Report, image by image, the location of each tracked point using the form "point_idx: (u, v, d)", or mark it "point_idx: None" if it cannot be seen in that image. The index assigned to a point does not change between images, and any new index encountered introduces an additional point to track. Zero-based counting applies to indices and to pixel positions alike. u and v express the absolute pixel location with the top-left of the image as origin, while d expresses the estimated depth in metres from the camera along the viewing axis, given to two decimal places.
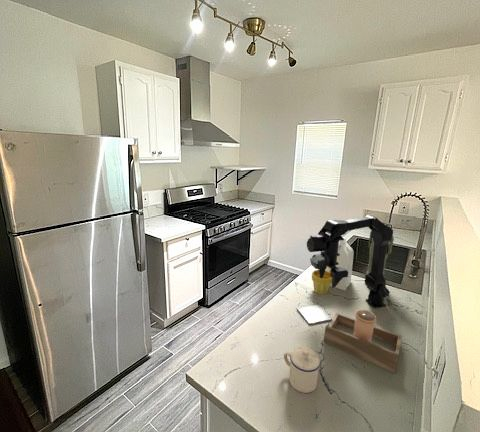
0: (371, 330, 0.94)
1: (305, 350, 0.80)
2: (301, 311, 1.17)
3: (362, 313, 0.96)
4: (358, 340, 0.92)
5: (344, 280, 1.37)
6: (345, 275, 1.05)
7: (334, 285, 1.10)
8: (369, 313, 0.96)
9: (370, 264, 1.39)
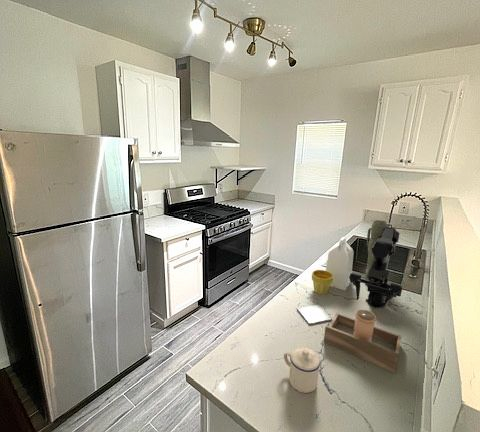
0: (371, 330, 0.94)
1: (305, 350, 0.80)
2: (301, 311, 1.17)
3: (362, 313, 0.96)
4: (358, 340, 0.92)
5: (344, 280, 1.37)
6: None
7: (385, 305, 1.00)
8: (369, 313, 0.96)
9: (369, 261, 1.41)
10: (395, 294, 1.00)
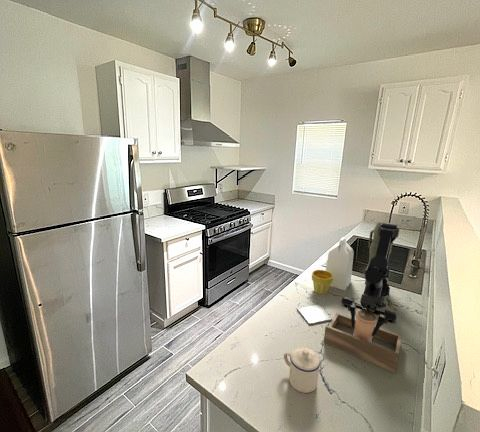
0: (372, 330, 0.94)
1: (305, 350, 0.80)
2: (301, 311, 1.17)
3: (363, 313, 0.96)
4: (358, 340, 0.92)
5: (344, 280, 1.37)
6: (395, 321, 0.95)
7: (376, 332, 0.94)
8: (370, 313, 0.96)
9: None
10: (386, 321, 0.95)
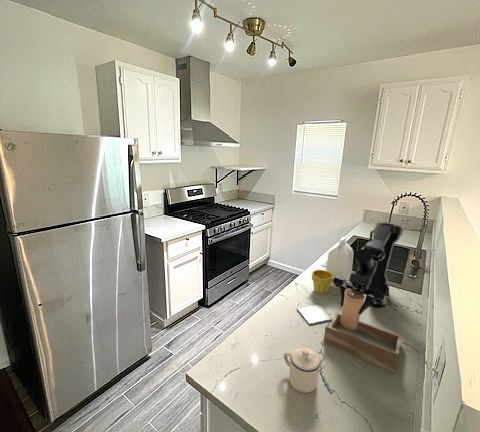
0: (358, 309, 0.95)
1: (305, 350, 0.80)
2: (301, 311, 1.17)
3: (351, 292, 0.98)
4: (358, 340, 0.92)
5: None
6: (384, 301, 0.95)
7: (362, 311, 0.96)
8: (359, 293, 0.97)
9: None
10: (373, 300, 0.95)
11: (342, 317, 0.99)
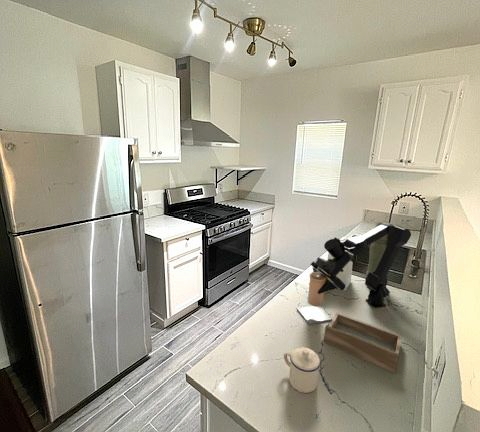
0: (317, 288, 1.10)
1: (305, 350, 0.80)
2: (301, 311, 1.17)
3: (316, 274, 1.12)
4: (358, 340, 0.92)
5: (344, 280, 1.37)
6: (342, 288, 1.05)
7: (321, 291, 1.09)
8: (322, 276, 1.11)
9: (370, 264, 1.39)
10: (332, 284, 1.07)
11: None
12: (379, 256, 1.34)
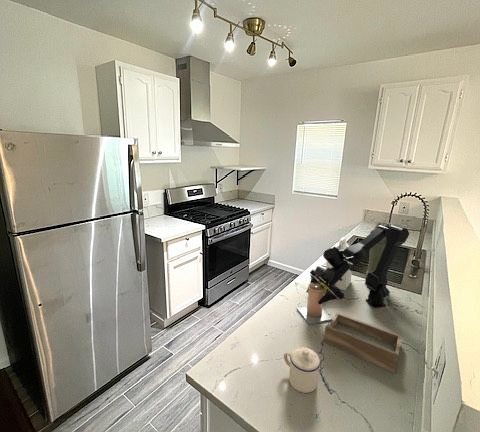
0: (315, 299, 1.11)
1: (305, 350, 0.80)
2: (301, 311, 1.17)
3: (315, 284, 1.14)
4: (358, 340, 0.92)
5: (344, 280, 1.37)
6: (340, 297, 1.06)
7: (322, 301, 1.09)
8: (321, 286, 1.13)
9: (370, 264, 1.39)
10: (332, 295, 1.07)
11: None
12: (379, 256, 1.34)
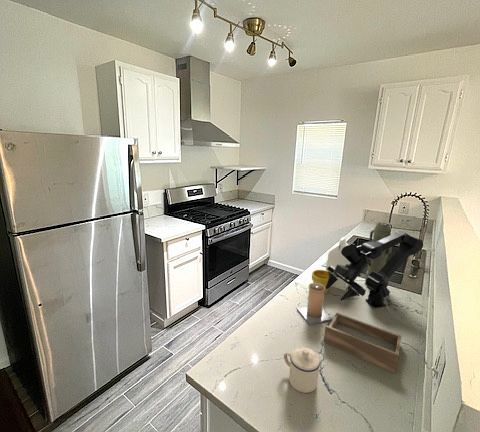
0: (316, 299, 1.11)
1: (305, 350, 0.80)
2: (301, 311, 1.17)
3: (315, 285, 1.14)
4: (358, 340, 0.92)
5: None
6: (362, 294, 1.09)
7: (344, 298, 1.12)
8: (321, 287, 1.13)
9: None
10: (355, 292, 1.09)
11: None
12: (379, 256, 1.34)
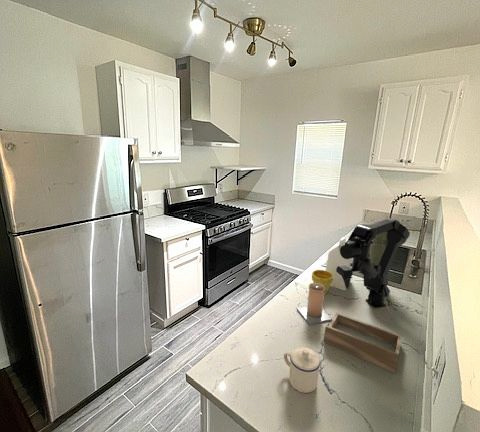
0: (316, 299, 1.11)
1: (305, 350, 0.80)
2: (301, 311, 1.17)
3: (315, 285, 1.14)
4: (358, 340, 0.92)
5: None
6: None
7: None
8: (321, 287, 1.13)
9: None
10: None
11: None
12: (379, 256, 1.34)
